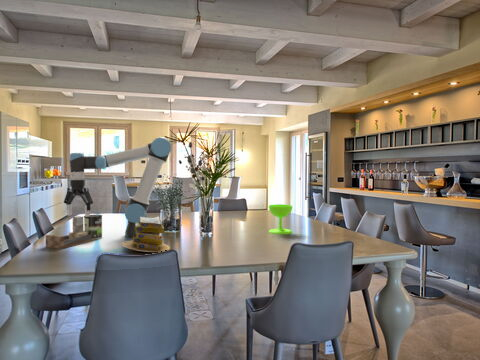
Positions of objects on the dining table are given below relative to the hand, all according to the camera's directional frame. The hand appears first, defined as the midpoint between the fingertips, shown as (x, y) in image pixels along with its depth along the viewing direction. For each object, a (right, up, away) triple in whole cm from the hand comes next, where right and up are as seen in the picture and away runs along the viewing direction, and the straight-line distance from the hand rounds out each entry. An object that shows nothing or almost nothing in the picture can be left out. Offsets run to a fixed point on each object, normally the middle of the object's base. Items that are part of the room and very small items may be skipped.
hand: (78, 215), depth 200 cm
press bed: (-3, -16, -5) cm, 16 cm away
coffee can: (+4, -15, +11) cm, 19 cm away
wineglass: (+122, -15, +32) cm, 127 cm away
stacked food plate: (+44, -16, -17) cm, 50 cm away
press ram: (0, -13, +1) cm, 14 cm away
